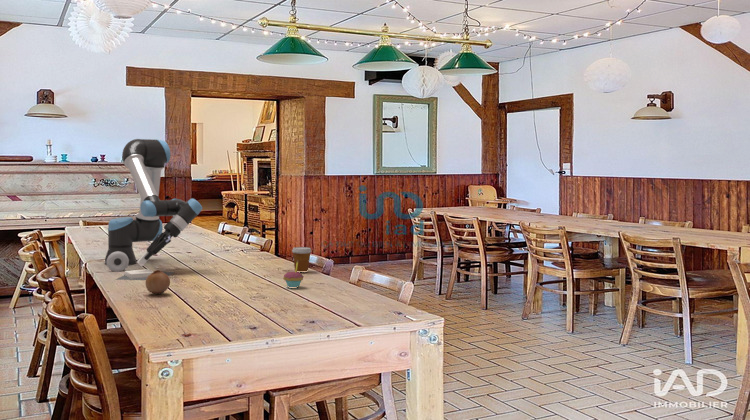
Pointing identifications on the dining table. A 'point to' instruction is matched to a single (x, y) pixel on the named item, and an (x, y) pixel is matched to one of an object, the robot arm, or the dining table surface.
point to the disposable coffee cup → (301, 258)
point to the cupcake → (293, 278)
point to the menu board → (138, 273)
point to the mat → (139, 278)
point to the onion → (157, 282)
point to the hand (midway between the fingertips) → (139, 264)
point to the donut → (114, 256)
